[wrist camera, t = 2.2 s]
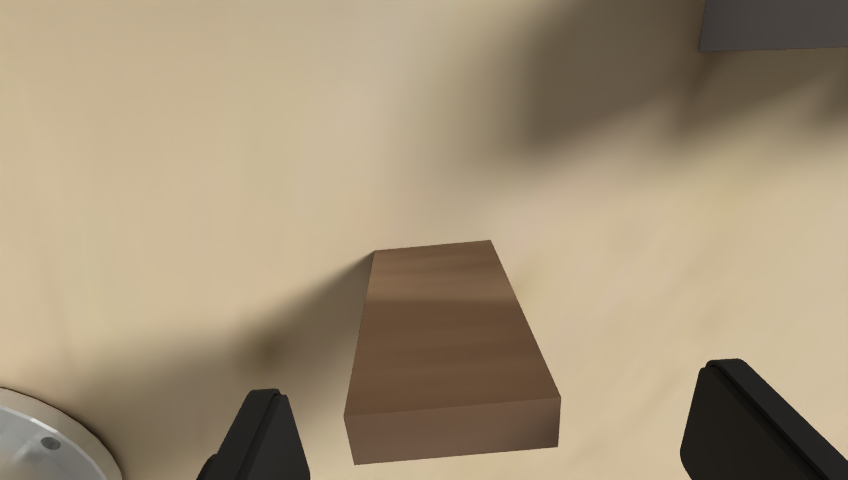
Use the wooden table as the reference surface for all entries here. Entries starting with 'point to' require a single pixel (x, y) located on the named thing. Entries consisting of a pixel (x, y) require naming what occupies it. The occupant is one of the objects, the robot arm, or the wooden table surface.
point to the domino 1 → (446, 361)
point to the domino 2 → (773, 25)
